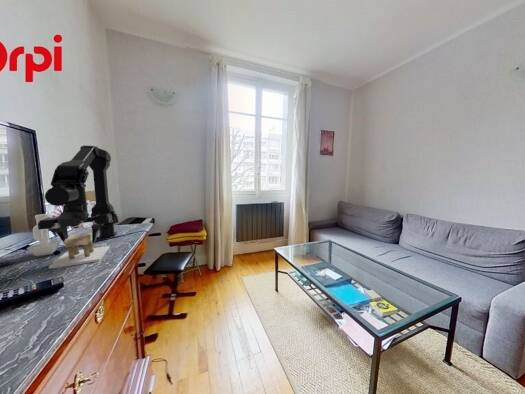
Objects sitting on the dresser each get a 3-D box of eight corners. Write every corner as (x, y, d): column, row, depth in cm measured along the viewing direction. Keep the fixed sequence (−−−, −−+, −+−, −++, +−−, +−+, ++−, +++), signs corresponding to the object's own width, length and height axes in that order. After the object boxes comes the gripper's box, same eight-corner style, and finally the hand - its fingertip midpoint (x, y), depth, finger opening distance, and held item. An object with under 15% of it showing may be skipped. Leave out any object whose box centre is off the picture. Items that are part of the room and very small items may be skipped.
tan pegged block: (67, 260, 69) (64, 240, 68) (74, 253, 74) (71, 235, 73) (89, 256, 72) (86, 237, 70) (95, 250, 77) (92, 232, 76)
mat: (67, 253, 76) (66, 251, 76) (109, 248, 82) (108, 246, 82) (48, 268, 64) (48, 266, 64) (99, 261, 70) (99, 258, 70)
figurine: (26, 259, 71) (19, 218, 69) (39, 250, 79) (33, 212, 77) (53, 255, 75) (48, 215, 73) (64, 247, 83) (59, 211, 81)
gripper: (23, 207, 59) (31, 257, 61) (102, 202, 67) (106, 247, 69) (44, 201, 69) (50, 245, 71) (110, 198, 77) (114, 237, 79)
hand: (80, 244), depth 72 cm, fingers open, 7 cm apart
